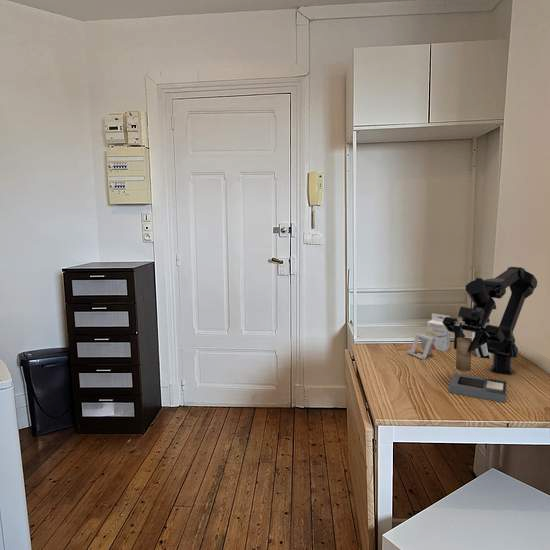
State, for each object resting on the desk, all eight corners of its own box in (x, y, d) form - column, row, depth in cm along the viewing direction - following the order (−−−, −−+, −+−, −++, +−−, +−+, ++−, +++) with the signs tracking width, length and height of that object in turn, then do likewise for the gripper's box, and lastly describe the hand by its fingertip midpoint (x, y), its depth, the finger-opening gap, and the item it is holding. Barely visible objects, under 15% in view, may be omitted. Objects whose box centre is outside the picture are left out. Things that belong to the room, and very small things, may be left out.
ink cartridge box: (425, 347, 181) (426, 314, 179) (430, 345, 185) (431, 312, 183) (445, 351, 175) (446, 317, 173) (449, 349, 179) (451, 315, 177)
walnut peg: (455, 365, 139) (456, 337, 137) (469, 367, 137) (470, 338, 136) (456, 370, 135) (457, 340, 133) (471, 372, 133) (472, 341, 132)
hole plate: (453, 380, 145) (453, 372, 144) (506, 388, 136) (506, 380, 136) (448, 392, 134) (448, 384, 134) (504, 402, 126) (505, 393, 126)
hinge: (491, 358, 165) (482, 335, 166) (478, 361, 168) (470, 337, 168) (492, 347, 180) (485, 325, 180) (481, 349, 182) (473, 328, 183)
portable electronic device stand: (407, 354, 173) (407, 334, 172) (421, 351, 176) (422, 332, 175) (422, 360, 165) (423, 340, 164) (437, 357, 169) (437, 337, 168)
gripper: (446, 293, 143) (426, 330, 138) (501, 301, 127) (481, 343, 123) (458, 312, 148) (439, 348, 143) (512, 322, 133) (493, 363, 128)
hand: (461, 350), depth 134 cm, fingers closed on walnut peg, 4 cm apart
